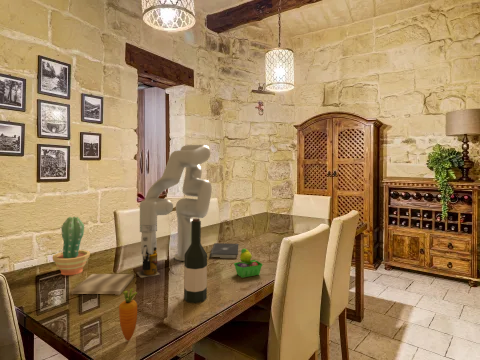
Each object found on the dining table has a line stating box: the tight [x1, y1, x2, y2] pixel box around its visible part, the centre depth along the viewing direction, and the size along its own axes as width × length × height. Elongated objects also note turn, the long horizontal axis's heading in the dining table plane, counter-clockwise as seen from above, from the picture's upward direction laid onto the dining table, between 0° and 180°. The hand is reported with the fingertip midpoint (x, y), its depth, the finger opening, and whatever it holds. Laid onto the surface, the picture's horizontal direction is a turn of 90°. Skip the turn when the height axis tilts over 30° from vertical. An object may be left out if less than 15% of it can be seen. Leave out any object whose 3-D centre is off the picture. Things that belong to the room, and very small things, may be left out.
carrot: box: [118, 287, 138, 342], centre depth 89 cm, size 5×5×15 cm
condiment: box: [136, 247, 160, 279], centre depth 142 cm, size 7×8×12 cm
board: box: [70, 273, 135, 296], centre depth 128 cm, size 18×18×2 cm
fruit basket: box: [233, 248, 263, 278], centre depth 144 cm, size 11×9×11 cm
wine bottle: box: [183, 217, 208, 304], centre depth 117 cm, size 8×8×30 cm
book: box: [209, 242, 239, 259], centre depth 178 cm, size 22×15×3 cm
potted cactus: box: [51, 216, 91, 276], centre depth 143 cm, size 15×15×25 cm
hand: (148, 266), depth 143 cm, fingers closed on condiment, 6 cm apart
